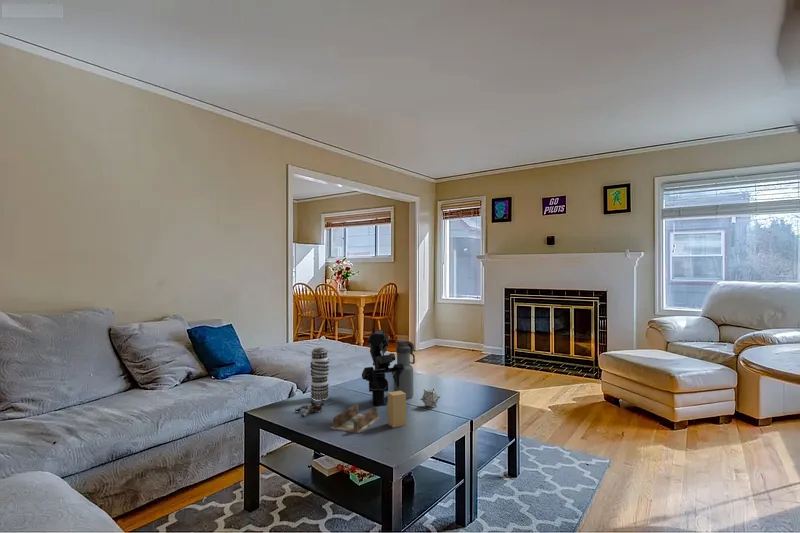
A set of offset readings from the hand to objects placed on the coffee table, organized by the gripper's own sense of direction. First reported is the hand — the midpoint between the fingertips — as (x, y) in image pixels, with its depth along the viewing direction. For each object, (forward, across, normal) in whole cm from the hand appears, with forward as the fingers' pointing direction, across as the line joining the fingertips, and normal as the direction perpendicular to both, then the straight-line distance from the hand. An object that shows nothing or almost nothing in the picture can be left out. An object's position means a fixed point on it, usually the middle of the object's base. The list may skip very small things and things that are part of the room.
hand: (388, 388), depth 186 cm
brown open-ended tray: (+8, -15, +10) cm, 20 cm away
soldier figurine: (-6, -29, +25) cm, 39 cm away
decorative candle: (-20, -19, +39) cm, 47 cm away
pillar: (+15, 0, +4) cm, 15 cm away
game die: (+6, +24, +13) cm, 28 cm away
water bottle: (-9, +20, +28) cm, 35 cm away
